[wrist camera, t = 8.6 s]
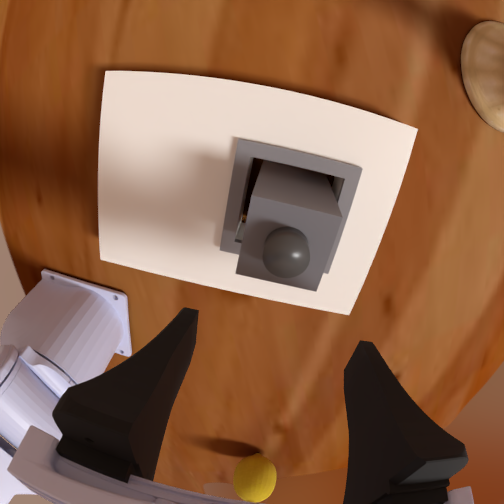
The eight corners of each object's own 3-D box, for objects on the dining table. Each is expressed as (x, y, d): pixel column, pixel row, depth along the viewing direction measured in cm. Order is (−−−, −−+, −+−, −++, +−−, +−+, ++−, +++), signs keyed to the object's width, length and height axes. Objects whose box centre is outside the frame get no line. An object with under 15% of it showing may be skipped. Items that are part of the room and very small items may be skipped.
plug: (251, 216, 22) (231, 285, 15) (263, 159, 20) (248, 203, 13) (309, 230, 22) (317, 304, 15) (326, 174, 20) (346, 227, 13)
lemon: (272, 443, 36) (267, 498, 29) (282, 459, 38) (278, 509, 31) (231, 445, 37) (222, 497, 30) (244, 461, 39) (237, 508, 32)
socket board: (115, 243, 24) (97, 262, 21) (124, 71, 17) (102, 70, 15) (344, 294, 24) (349, 318, 21) (403, 123, 17) (420, 130, 15)
